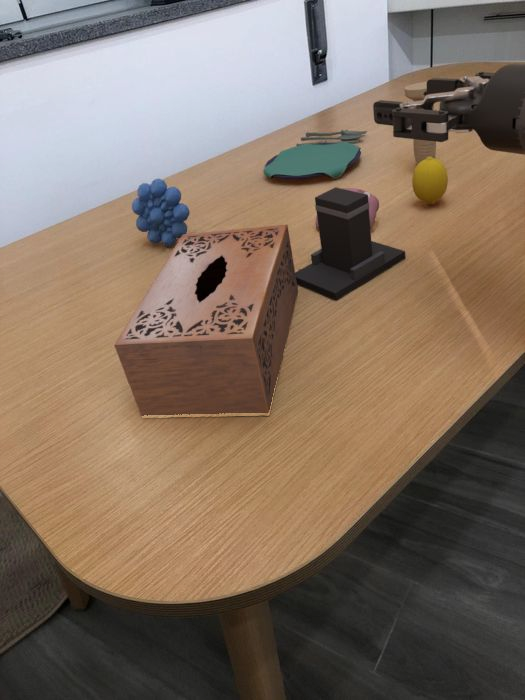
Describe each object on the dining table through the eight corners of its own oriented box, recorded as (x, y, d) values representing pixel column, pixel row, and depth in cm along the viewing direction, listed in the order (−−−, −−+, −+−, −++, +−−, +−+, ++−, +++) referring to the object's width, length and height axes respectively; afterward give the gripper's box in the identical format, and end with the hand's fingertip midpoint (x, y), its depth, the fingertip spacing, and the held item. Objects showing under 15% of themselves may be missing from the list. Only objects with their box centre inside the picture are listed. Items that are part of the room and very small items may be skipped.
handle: (406, 168, 115) (402, 85, 106) (440, 163, 114) (440, 79, 105) (409, 177, 111) (406, 91, 102) (445, 172, 110) (445, 85, 101)
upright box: (342, 252, 88) (335, 186, 82) (373, 262, 84) (368, 194, 78) (322, 263, 86) (313, 197, 81) (353, 274, 82) (346, 205, 76)
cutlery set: (251, 187, 121) (248, 176, 119) (300, 138, 142) (298, 129, 141) (346, 185, 113) (345, 173, 111) (383, 134, 134) (382, 123, 133)
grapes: (210, 236, 104) (194, 169, 97) (189, 254, 99) (171, 185, 93) (157, 233, 109) (138, 169, 103) (135, 250, 105) (114, 184, 98)
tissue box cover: (199, 297, 87) (182, 234, 81) (298, 291, 83) (287, 224, 78) (142, 418, 66) (114, 345, 61) (269, 416, 63) (252, 338, 57)
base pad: (359, 243, 92) (358, 227, 90) (405, 258, 86) (405, 241, 84) (291, 282, 86) (288, 265, 84) (336, 300, 79) (333, 283, 78)
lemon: (415, 198, 102) (414, 152, 98) (449, 197, 100) (449, 149, 96) (410, 212, 98) (409, 164, 94) (446, 211, 96) (446, 162, 92)
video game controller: (378, 235, 97) (384, 190, 95) (367, 234, 93) (372, 188, 91) (325, 230, 102) (329, 187, 100) (311, 229, 98) (316, 184, 97)
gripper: (594, 45, 54) (444, 45, 65) (501, 89, 48) (353, 81, 59) (583, 130, 58) (444, 116, 70) (496, 180, 52) (359, 156, 63)
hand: (402, 100), depth 64 cm, fingers open, 8 cm apart
